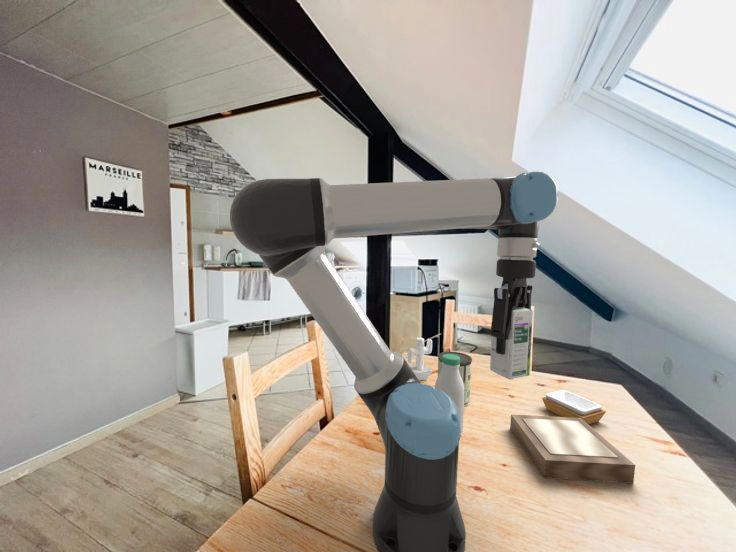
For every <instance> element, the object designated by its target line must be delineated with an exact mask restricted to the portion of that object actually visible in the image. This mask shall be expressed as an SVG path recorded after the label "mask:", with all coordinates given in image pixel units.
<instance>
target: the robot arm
mask: <svg viewBox="0 0 736 552" xmlns="http://www.w3.org/2000/svg"><path fill="white" fill-rule="evenodd" d="M558 196H559V191H558V186H557V183H556V182H555V180H554V179H553V177H552V176H550V175H549V174H547V173H545V172H542V171H539V170H538V171H537V170H536V171H530V172H522V173H520V174H518V175H517V176H511V177H509V176H507V177H494V178H488V177H487V178H466V179H465V178H463V179H445V180H441V179H440V180H420V181H418V180H417V181H395V182H375V183H374V182H373V183H354V184H353V183H350V184H348V183H347V184H329V183H327V182H326V181H325V180H324V179H323V178H322V177H321V178H320V177H314V178H264V179H258V180H255V181H253V182H251V183H248V184H247V185H245V186H244V187H242V188H241V189H240V190H239V192H238V193H237V194H236V195H235V197H234V198H233V200H232V203H231V206H230V209H229V210H230V211H229V222H230V226H231V230H232V232H233V234H234V236H235V237H236V239H237V240H238V242H239V243H240V244H241V245H242V246H244V247H245V249H247V250H249V251H250V252H252V253H254V254H256V255H258V256H259V258H260V259H261V260H262V261H263V263H264V264H265V266H266V267H267V269H268V270H269V271H270V273H271V274H272V275H273V276H274V277H275V278H280V279H281V278H282V279H285V280H287V282H288V283H289V285H290V287H292V289H293V290H294V292H295V293H296V295H297V296H298V297H299V298H300V300H301V302H302V304H303V305H304V306H305V308H306V309H307V310H308V312H309V313H310V314H311V316H312V317H313V319H314V320H315V321H316V323H317V324H318V326H319V327H320V329H321V330H322V332H323V333H324V334H325V335H326V337H327V339H328V340H329V341H330V343H331V344H332V346H333V347H334V348H335V350H336V351H337V352H338V355H340V357H341V359H342V360H343V361H344V362H345V364H346V365H347V367H348V368H349V369H350V371H351V372H352V374H353V376H355V380H354V383H353V388H354V390H355V391H356V393H357V394H358V395H359V397H360V399H361V400H362V401H363V403H364V404H365V406H366V407H367V409H368V410H369V411H370V413H371V415H372V416H373V418H374V420H375V422H376V425H377V428H378V431H379V434H380V436H381V440H382V441H383V446H384V454H385V455H384V457H385V459H384V462H385V463H384V485H383V487H382V489H381V492H380V495H379V498H378V500H377V502H376V505H375V508H374V511H373V518H372V537H373V542H374V544H375V546H376V549H377V551H378V552H465V551H466V539H467V538H466V535H467V534H466V527H465V522H464V519H463V516H462V512H461V509H460V505H459V502H458V498H457V483H458V467H459V451H460V450H459V449H460V440H461V435H460V422H459V412H458V408H457V406H456V404H455V403H454V401H453V400H452V399H451V398H450V397H449V396H448V395H447V394H446V393H445V392H443V391H441V390H440V389H435V386H432V385H429V384H425V383H422V382H421V380H418V378H417V377H416V375H415V374H414V372H413V371H412V369H411V368H410V366H409V364H408V363H409V362H408V361H407V360H406V359H405V357H404V356H403V355H402V353H400V352H398V351H393V350H391V349H389V347H388V345H387V344H386V342H385V341H384V339H383V338H382V337H381V335H380V332H378V330H377V329H376V327H375V326H374V325H373V323H372V322H371V320H370V319H369V317H368V316H367V314H366V312H365V311H364V310H363V308H362V307H361V305H360V304H359V302H358V300H357V299H356V298H355V296H354V294H353V292H351V290H350V288H349V287H348V286H347V284H346V282H345V281H344V279H343V278H342V277H341V275H340V274H339V273H338V270H337V269H336V268H335V266H334V264H333V263H332V262H331V260H330V258H329V257H328V256H327V254H326V247H327V246H328V245H329V244H330V243H331V242H332V241H333V240H334V239H339V238H340V239H342V238H343V239H344V238H355V237H365V236H379V235H392V234H403V233H406V234H407V233H417V232H430V231H443V230H455V229H462V230H464V229H469V230H471V229H476V230H497V231H498V237H497V252H496V256H497V257H499V259H497V260H496V270H495V275H496V276H497V277H498V278H499V277H500V278H502V283H501V286H500V287H494V289H493V307H492V314H493V316H492V315H491V316H492V318H491V326H490V335H491V337H492V336H493V337H496V348H495V365H494V367H497V368H500V369H503V370H509V357H510V341H511V339H508V337H509V333H510V328H511V316H512V311H513V310H514V309H515V308H517V307H522V308H523V307H524V308H527V309H531V310H532V294H533V292H532V291H533V285H532V284H528V283H527V282H528V280H527V279H533V278H535V277H536V269H537V268H536V267H537V262H536V260H534V258H536V257H537V250H538V248H539V247H540V246H541V245H540V243H539V242H538V236H539V224H540V222H541V221H543V220H545V219H547V218H548V217H550V216H551V215H552V213H553V212H555V209H556V207H557V205H558V201H559V197H558Z"/></svg>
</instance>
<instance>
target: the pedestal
mask: <svg viewBox="0 0 736 552" xmlns="http://www.w3.org/2000/svg"><path fill="white" fill-rule="evenodd" d="M509 424H510V425H509V427H510V431H511V432H512V434H513V435H514V437H515V438H516V439H517V441H518V442H519V444H520V445H521V447H522V448H523V449H524V451H525V453H527V455H528V457H529V458H530V460H531V461H532V462H533V464H534V465H535V467H536V468H537V469H538V471H539V473H540V474H541V476H542V477H543V478H544V479H555V480H556V479H558V480H573V481H588V482H589V481H590V482H591V481H592V482H603V483H604V482H605V483H607V482H608V483H624V484H634V482H635V473H636V471H635V469H636V464H634V462H633V461H632V460H631V459H629V458H628V457H627V456H625V455H624V454H623V453H622V452H621V451H619V450H618V449H617V448H616V447H615V446H614V445H613V444H612V443H610V441H608V440H607V439H606V438H605V437H604V436H603V435H601V434H600V433H599V432H598V431H596V430H595V429H594V428H593V427H592V426H591V424H589V425H588V424H587V423H586V422H585V421H584V420H583V419H581V418H571V417H561V416H547V415H529V414H528V415H525V414H510V423H509Z"/></svg>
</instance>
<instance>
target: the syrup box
mask: <svg viewBox="0 0 736 552" xmlns="http://www.w3.org/2000/svg"><path fill="white" fill-rule="evenodd" d="M533 314H534V312H533V309H532V308H531V309H527V308H524V307H523V308H522V307H517V308H515V309H514V310H513V311H512V316H511V328H510V333H509V337H508V339H511V341H510V357H509V370H503V369H500V368H497V367H494V365H495V348H496V337H493V336H491V339H490V343H491V344H490V363H489V364H490V365H489V367H490V368H489V370H490V371H491V372H494V373H495V374H496V375H499V376H501V377H503V378H506V379H507V380H510V381H511V380H514V379H518V378H525V377H529V376H530V373H531V372H530V370H531V351H532V334H533V333H532V332H533V317H534V316H533ZM491 316H493V313H492V315H491Z"/></svg>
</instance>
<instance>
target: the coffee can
mask: <svg viewBox="0 0 736 552" xmlns="http://www.w3.org/2000/svg"><path fill="white" fill-rule="evenodd" d="M444 354H453V355H457V356H459V357H460V366H459V373H460V376H461V378H462V381H463V384H464V408H466V407H468V406H469V405H470V403H471V380H472V379H471V377H472V376H471V375H472V362H473V358H472V357H471V356H470V355H468V354H466V353H463V352H458V351H443V352H440V353H438V355H437V377H438V376H439V374H440V372H441V369H442V355H444Z"/></svg>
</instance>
